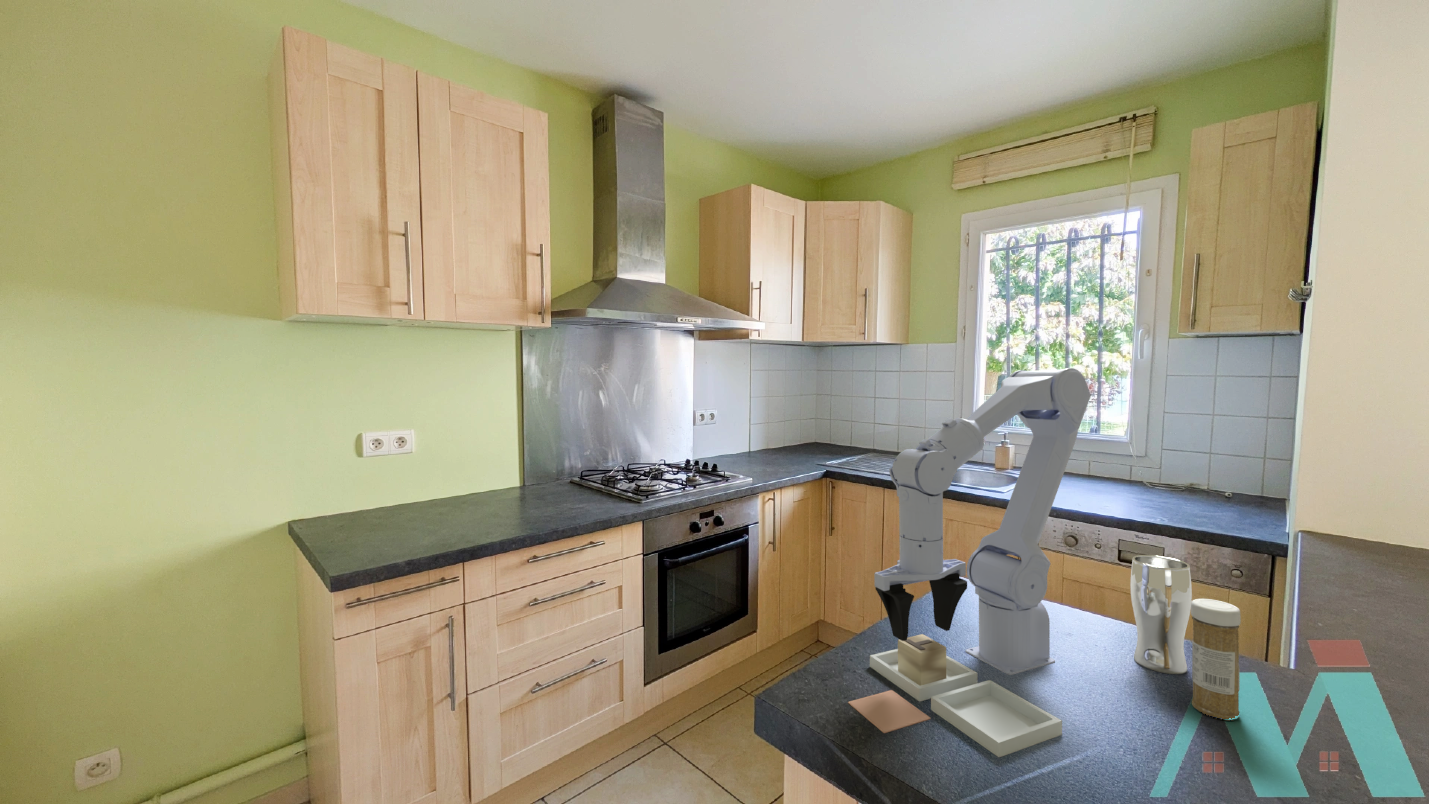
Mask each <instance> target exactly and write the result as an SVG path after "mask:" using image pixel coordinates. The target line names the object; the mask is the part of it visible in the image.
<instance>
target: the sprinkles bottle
mask: <svg viewBox="0 0 1429 804" xmlns="http://www.w3.org/2000/svg"><path fill="white" fill-rule="evenodd" d="M1190 616H1192V617H1191V619H1192V641H1191V642H1192V643H1191V644H1192V645H1191V647H1192V653H1191V655H1192V656H1191V657H1192V658H1191V661H1192V663H1191V667H1192V669H1191V671H1192V672H1191V674H1192V675H1191V676H1192V677H1191V679H1192V699H1191V705H1192V707H1193V708H1194V709H1195V710H1197V711H1198V712H1200V713H1201V712H1202V714H1204V715H1205V714H1206V716H1208V715H1209V716H1208V717H1210V716H1213V717H1217V718H1222V719H1229V718H1231V719H1232V718H1235V716H1238V715H1239V713H1240V711H1239V708H1240V707H1239V705H1240V704H1239V702H1240V700H1239V697H1240V696H1239V693H1240V683H1241V682H1240V681H1241V679H1240V662H1239V661H1240V659H1239V656H1240V655H1239V654H1240V652H1239V650H1240V649H1239V647H1240V645H1239V629H1240V625H1241V619H1242V618H1241V610H1240V608H1239V607H1237V606H1235V605H1234V604H1231V603H1229V602H1225V601H1221V600H1217V599H1211V598H1196V599H1192V602H1191V610H1190ZM1213 717H1212V718H1213ZM1217 718H1216V719H1217ZM1222 719H1221V720H1222Z"/></svg>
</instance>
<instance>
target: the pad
mask: <svg viewBox="0 0 1429 804" xmlns="http://www.w3.org/2000/svg"><path fill="white" fill-rule="evenodd" d="M847 704H849V705H850V706H851V707H852V708H853V709H855V710H856V711H857V712H858V713H859V714H860V715H862V716H863V717H864V718H865V719H866V720H867V721H868V722H870V723H871V724H872V725H874V727H876V728H877V729H878V730H879V731H881V732H882V733H883V734H887V733H890V732H893V731H897V730H900V729H902V728H907V727H909V726H913V725H917V724H920V723H923V722H927V721H929V720H931V718H932V717H930V715H927V714H926V713H924V712H923V711H922V710H921V709H919V708H917V707H916V706H915V705H913V704H912V703H911V702H909V701H908V700H907V699H905V698H904V697H902V696H901V695H900V694H898V693H897V692H896V691H894V690H893V689H890V690H885V691H883V692H880V693H875V694H871V695H867V696H864V697H861V698H858V699H857V698H856V699H854V700H850V701H848V702H847Z"/></svg>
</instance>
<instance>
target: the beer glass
mask: <svg viewBox="0 0 1429 804" xmlns="http://www.w3.org/2000/svg"><path fill="white" fill-rule="evenodd" d="M1131 559H1132V561H1131V562H1132V563H1131V568H1130V569H1131V571H1130V584H1129V585H1130V599H1131V605H1132V606H1131V607H1132V610H1133V616H1134V620H1135V625H1136V631H1137V640H1136V648H1135V649H1134V653H1133V659H1134V661H1135V662H1136V663H1137V664H1138V665H1140V666H1141V667H1144V668H1146V669H1148V670H1151V671H1154V672H1156V673H1157V672H1158V673H1162V674H1167V675H1168V674H1169V675H1181V674H1185V673H1187V672H1188V665H1187V661H1186V656H1185V650H1184V649H1185V648H1184V643H1185V636H1186V631H1187V627H1188V624H1189V619H1190V616H1191V602H1192V601H1193V593H1192V591H1193V590H1192V578H1191V565H1190V564H1189V563H1188V562H1185V561H1182V560H1181V559H1176V558H1173V557H1167V556H1161V555H1152V554H1140V555H1134V556H1132V558H1131Z"/></svg>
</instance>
